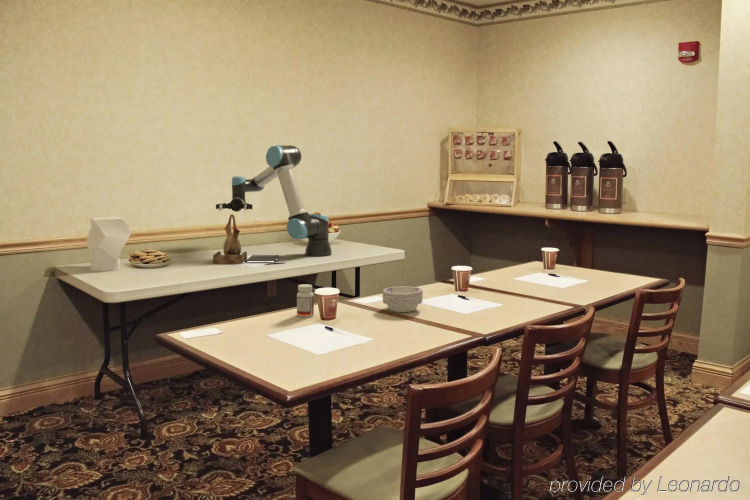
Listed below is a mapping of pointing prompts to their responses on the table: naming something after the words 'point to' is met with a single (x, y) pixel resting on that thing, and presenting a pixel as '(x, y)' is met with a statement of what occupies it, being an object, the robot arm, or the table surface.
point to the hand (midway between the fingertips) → (232, 208)
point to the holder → (229, 258)
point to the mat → (263, 258)
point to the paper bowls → (402, 298)
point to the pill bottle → (305, 301)
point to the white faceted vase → (106, 242)
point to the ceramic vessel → (232, 239)
